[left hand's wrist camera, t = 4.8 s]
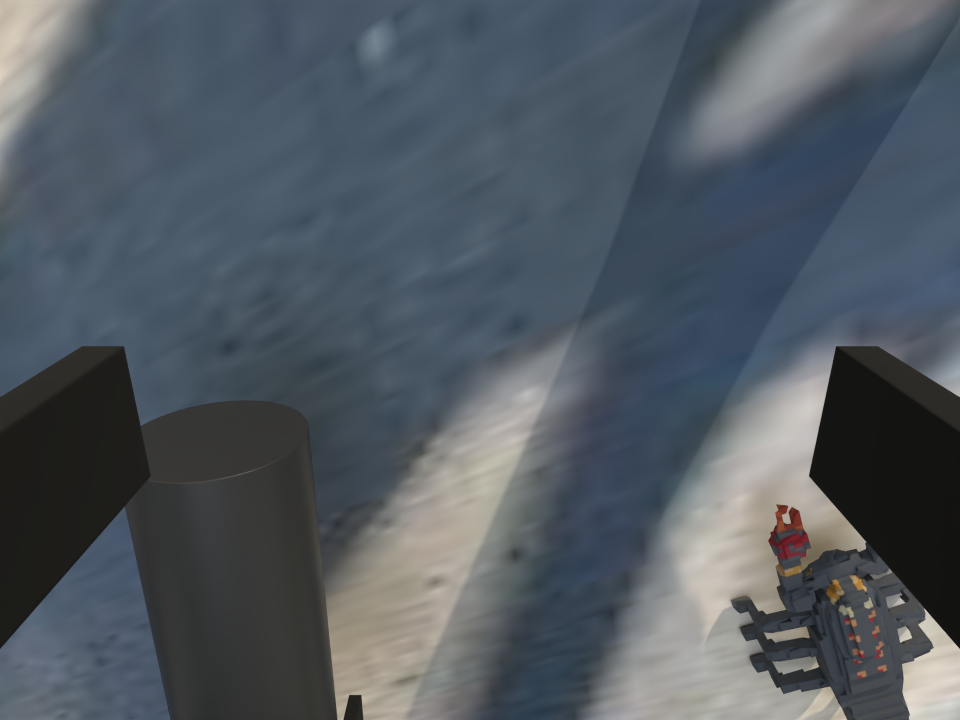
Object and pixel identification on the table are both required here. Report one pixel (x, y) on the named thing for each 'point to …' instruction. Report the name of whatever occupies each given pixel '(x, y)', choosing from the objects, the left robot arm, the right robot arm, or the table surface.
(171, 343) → the table surface
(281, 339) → the table surface
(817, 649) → the toy
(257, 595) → the rod
